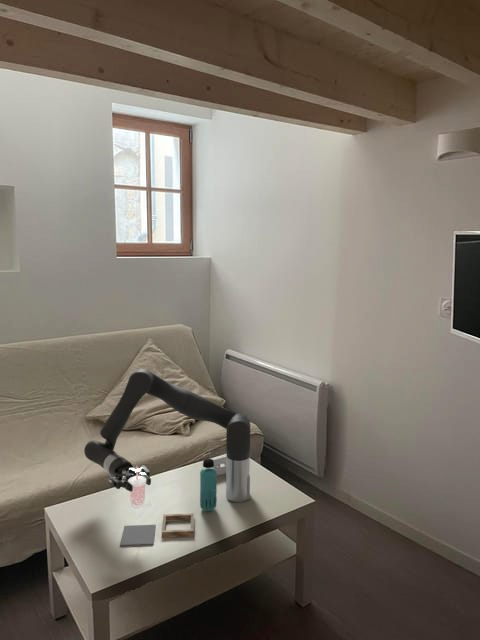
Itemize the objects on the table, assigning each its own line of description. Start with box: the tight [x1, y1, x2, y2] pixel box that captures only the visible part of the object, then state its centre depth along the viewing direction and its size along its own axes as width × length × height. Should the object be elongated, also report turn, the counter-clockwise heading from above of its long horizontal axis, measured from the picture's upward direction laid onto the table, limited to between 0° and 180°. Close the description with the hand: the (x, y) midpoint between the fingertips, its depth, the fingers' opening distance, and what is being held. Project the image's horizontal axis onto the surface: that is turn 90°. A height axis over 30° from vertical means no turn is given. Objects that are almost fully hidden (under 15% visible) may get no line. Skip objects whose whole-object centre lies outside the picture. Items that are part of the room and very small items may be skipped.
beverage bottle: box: [199, 458, 218, 512], centre depth 184 cm, size 6×7×20 cm
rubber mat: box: [119, 524, 157, 547], centre depth 169 cm, size 11×11×1 cm
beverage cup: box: [128, 465, 146, 509], centre depth 166 cm, size 6×6×14 cm
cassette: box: [211, 455, 227, 477], centre depth 215 cm, size 12×2×8 cm, turn 123°
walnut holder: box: [161, 513, 195, 539], centre depth 174 cm, size 11×11×2 cm
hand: (140, 485), depth 164 cm, fingers closed on beverage cup, 6 cm apart
